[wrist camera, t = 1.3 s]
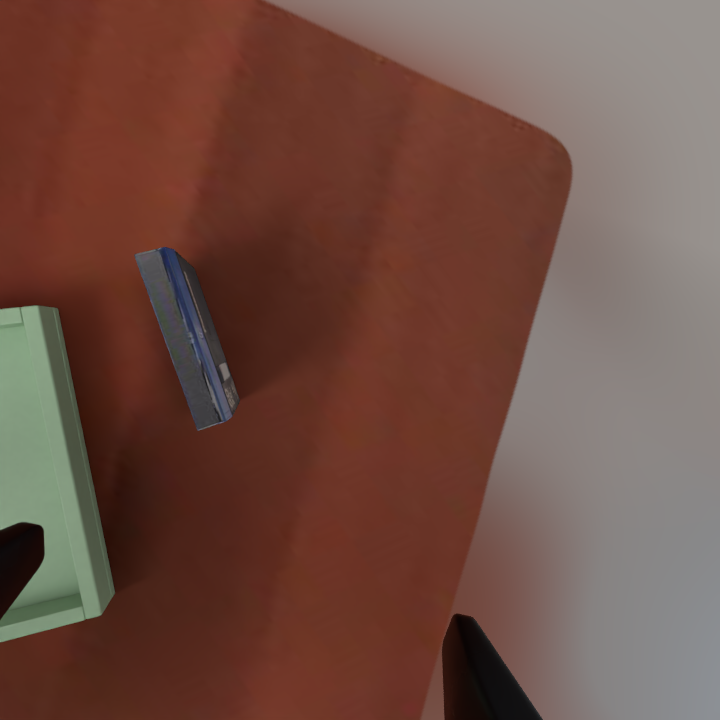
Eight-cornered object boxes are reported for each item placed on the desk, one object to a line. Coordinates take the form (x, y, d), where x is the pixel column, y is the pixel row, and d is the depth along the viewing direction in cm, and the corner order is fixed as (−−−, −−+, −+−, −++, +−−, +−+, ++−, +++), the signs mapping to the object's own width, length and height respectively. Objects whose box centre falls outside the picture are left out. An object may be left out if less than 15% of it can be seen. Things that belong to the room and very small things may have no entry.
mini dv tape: (240, 400, 24) (231, 420, 18) (215, 408, 24) (197, 431, 18) (194, 268, 23) (169, 245, 18) (167, 275, 23) (133, 253, 17)
